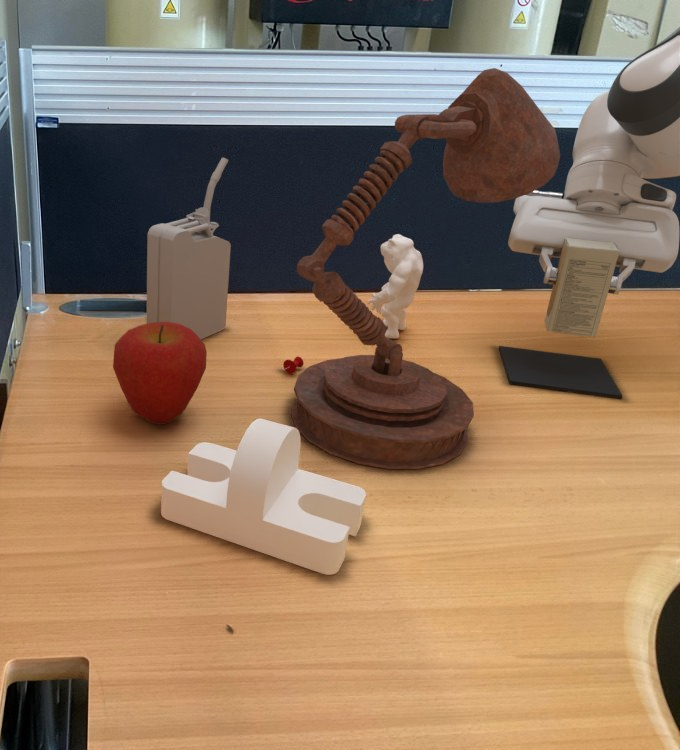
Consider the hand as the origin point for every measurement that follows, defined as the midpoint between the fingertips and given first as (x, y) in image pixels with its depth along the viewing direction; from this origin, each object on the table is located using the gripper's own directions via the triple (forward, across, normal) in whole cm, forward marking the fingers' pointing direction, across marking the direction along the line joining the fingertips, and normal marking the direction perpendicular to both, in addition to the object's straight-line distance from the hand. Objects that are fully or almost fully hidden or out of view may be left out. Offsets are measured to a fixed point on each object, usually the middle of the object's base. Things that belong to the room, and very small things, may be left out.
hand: (581, 287), depth 100 cm
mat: (+9, 0, +10) cm, 13 cm away
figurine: (+7, -24, +12) cm, 28 cm away
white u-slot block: (+44, -27, -26) cm, 58 cm away
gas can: (+17, -51, +1) cm, 54 cm away
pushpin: (+22, -34, -3) cm, 40 cm away
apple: (+35, -44, -17) cm, 59 cm away
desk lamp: (+26, -19, -8) cm, 33 cm away
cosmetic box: (+4, 0, +5) cm, 7 cm away
